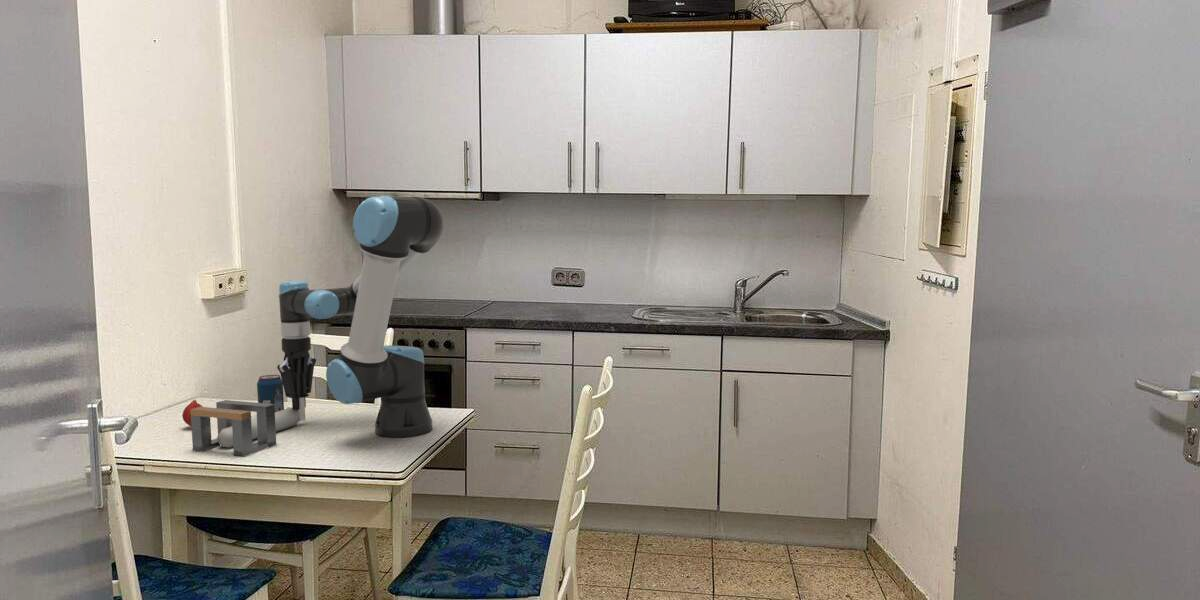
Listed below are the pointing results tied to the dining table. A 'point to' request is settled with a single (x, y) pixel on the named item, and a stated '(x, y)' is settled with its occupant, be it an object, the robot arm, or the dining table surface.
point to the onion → (189, 412)
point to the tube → (282, 421)
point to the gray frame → (234, 426)
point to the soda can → (271, 391)
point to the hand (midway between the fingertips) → (299, 420)
